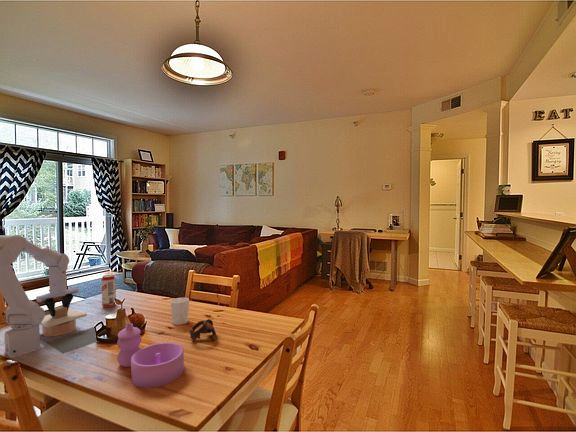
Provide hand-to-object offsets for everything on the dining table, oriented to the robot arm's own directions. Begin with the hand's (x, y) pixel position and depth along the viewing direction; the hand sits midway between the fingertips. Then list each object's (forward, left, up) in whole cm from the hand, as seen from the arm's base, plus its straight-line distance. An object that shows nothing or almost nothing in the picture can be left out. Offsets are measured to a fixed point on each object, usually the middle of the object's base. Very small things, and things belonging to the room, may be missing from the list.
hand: (59, 314), depth 127 cm
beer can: (+27, +16, -8) cm, 32 cm away
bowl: (0, 0, -7) cm, 7 cm away
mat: (+2, -16, -7) cm, 18 cm away
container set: (+5, -58, -8) cm, 59 cm away
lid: (0, 0, -2) cm, 2 cm away
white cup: (+35, -33, -8) cm, 49 cm away
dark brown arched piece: (+30, -55, -8) cm, 64 cm away
